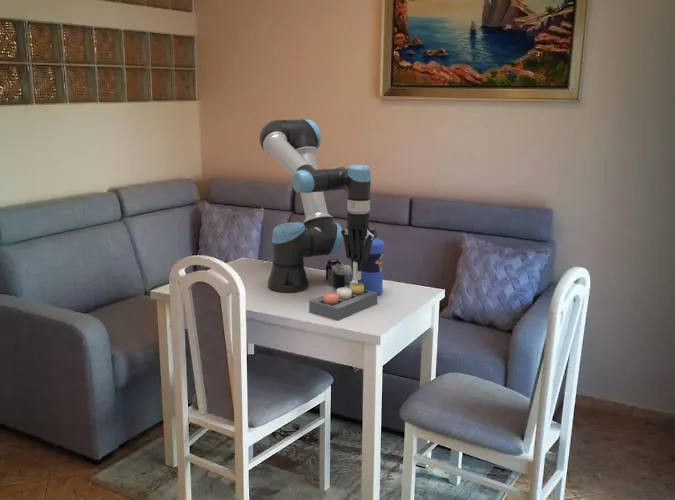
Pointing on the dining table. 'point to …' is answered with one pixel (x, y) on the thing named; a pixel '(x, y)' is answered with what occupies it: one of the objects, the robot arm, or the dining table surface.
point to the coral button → (331, 298)
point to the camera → (338, 273)
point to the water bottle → (373, 265)
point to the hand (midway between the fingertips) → (356, 279)
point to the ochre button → (357, 288)
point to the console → (343, 305)
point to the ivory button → (344, 293)
